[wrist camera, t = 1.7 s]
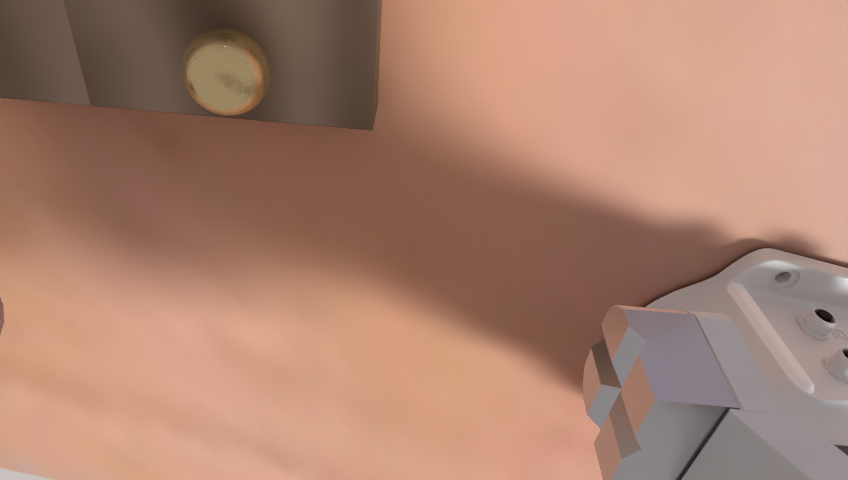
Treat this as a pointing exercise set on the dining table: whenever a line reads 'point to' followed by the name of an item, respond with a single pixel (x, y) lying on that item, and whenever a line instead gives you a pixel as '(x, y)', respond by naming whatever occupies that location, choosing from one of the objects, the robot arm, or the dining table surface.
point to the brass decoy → (225, 71)
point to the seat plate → (166, 43)
